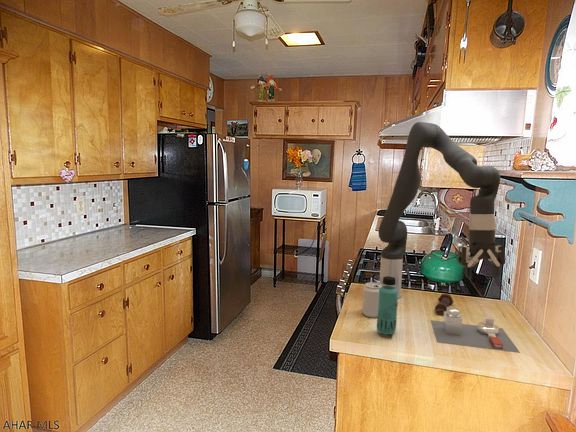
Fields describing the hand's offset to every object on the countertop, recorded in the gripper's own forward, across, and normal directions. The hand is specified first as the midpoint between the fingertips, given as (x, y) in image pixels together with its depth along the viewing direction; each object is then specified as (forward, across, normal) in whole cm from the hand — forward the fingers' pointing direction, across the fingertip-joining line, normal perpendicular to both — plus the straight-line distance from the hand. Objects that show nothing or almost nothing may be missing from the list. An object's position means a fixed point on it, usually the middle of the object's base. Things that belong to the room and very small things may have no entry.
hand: (481, 277), depth 123 cm
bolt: (+19, +1, -27) cm, 33 cm away
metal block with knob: (+20, +7, -6) cm, 22 cm away
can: (+18, +30, -22) cm, 42 cm away
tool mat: (+21, +1, -4) cm, 21 cm away
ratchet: (+21, -4, -2) cm, 21 cm away
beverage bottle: (+20, +30, -6) cm, 36 cm away
